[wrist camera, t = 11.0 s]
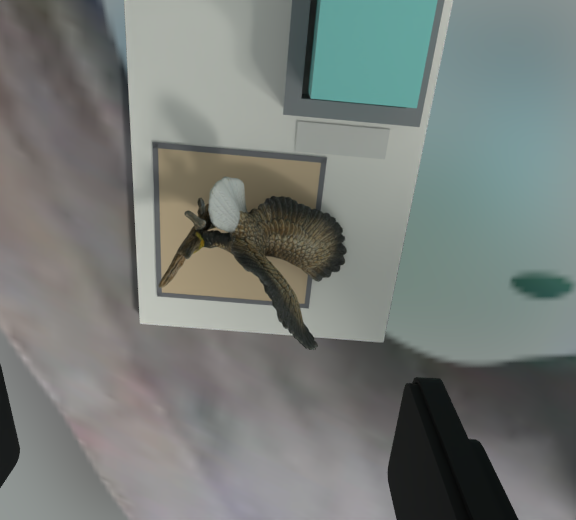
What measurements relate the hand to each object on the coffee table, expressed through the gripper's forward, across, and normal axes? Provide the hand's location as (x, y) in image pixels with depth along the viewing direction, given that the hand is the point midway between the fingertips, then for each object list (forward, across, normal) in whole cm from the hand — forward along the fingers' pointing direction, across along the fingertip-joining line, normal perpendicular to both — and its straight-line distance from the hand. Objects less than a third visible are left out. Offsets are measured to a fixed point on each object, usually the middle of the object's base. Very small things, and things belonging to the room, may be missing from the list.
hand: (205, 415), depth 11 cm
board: (+18, -1, -2) cm, 18 cm away
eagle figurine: (+18, -1, +2) cm, 18 cm away
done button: (+15, -5, -8) cm, 18 cm away
